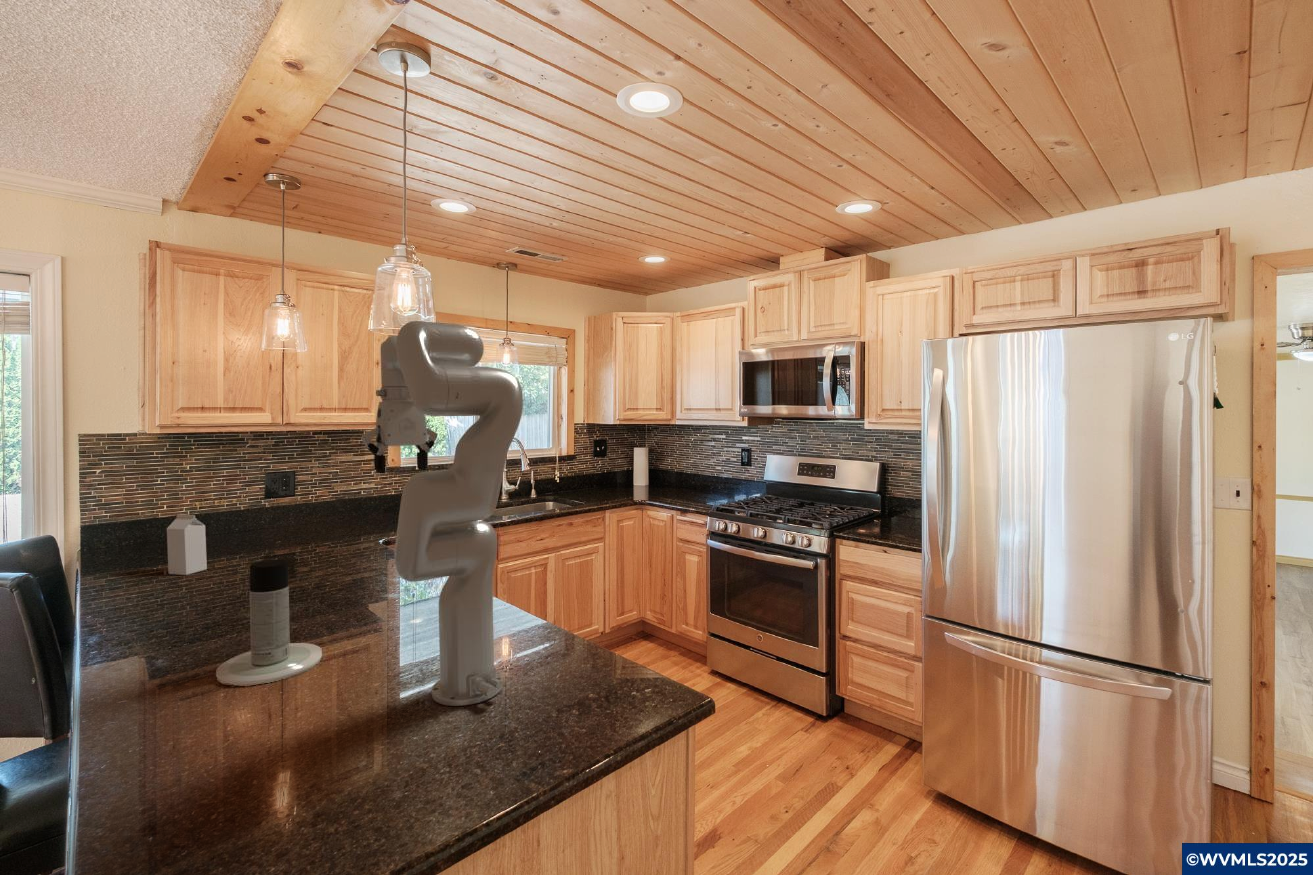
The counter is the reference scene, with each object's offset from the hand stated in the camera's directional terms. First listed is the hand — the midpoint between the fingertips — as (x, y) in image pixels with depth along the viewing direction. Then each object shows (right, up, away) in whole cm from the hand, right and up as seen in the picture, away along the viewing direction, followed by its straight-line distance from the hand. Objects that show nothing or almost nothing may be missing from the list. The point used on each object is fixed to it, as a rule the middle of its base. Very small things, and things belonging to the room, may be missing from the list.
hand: (402, 471), depth 133 cm
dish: (-21, -39, -13) cm, 46 cm away
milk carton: (-97, -37, +60) cm, 120 cm away
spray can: (-21, -38, -14) cm, 45 cm away
